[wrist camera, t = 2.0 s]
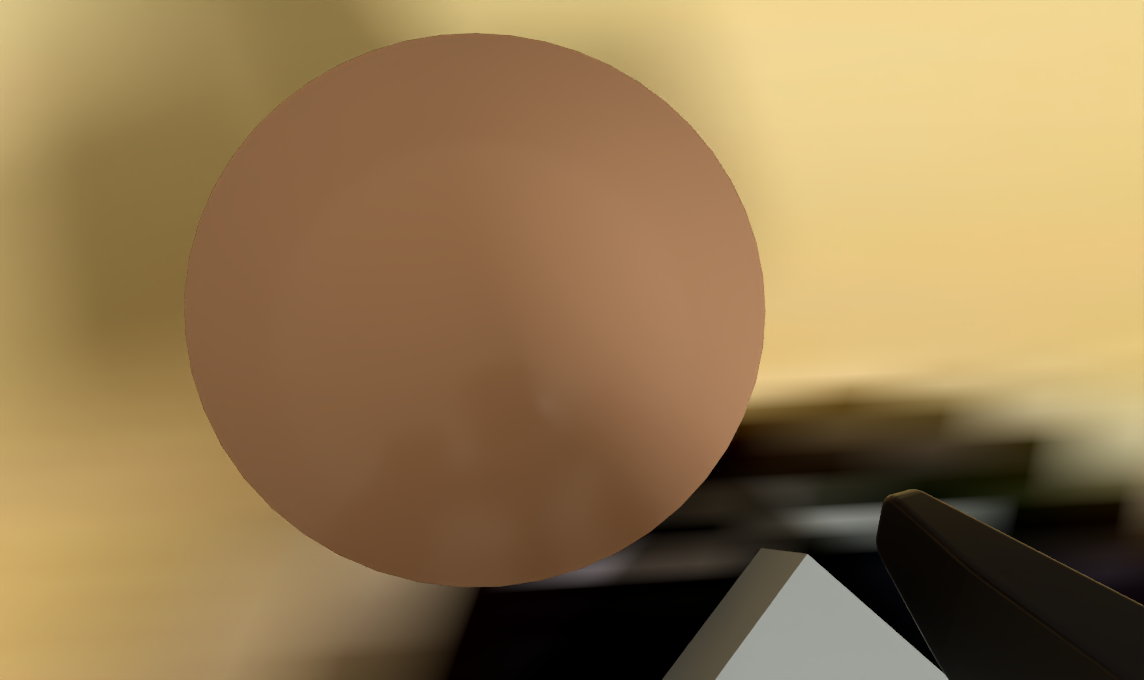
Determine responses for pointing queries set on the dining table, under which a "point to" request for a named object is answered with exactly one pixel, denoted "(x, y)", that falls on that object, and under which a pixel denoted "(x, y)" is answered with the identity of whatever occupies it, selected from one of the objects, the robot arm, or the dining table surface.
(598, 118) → the cargo canister
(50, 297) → the dining table surface
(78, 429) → the dining table surface
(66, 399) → the dining table surface
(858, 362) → the dining table surface
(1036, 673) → the robot arm
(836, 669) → the block
